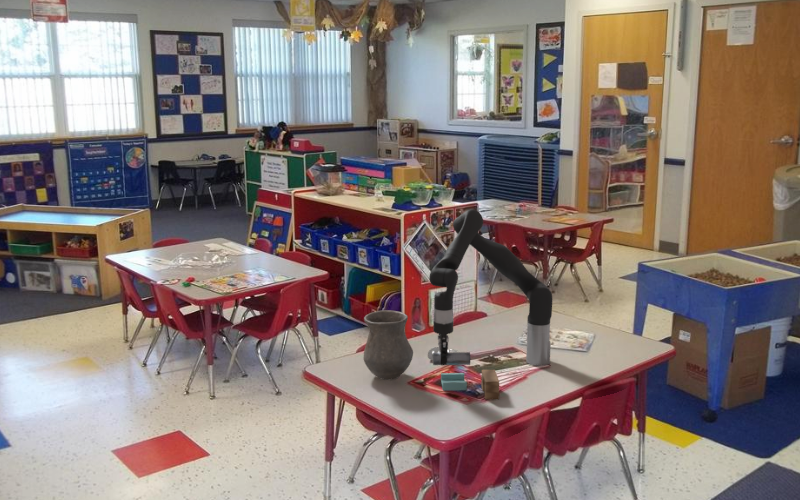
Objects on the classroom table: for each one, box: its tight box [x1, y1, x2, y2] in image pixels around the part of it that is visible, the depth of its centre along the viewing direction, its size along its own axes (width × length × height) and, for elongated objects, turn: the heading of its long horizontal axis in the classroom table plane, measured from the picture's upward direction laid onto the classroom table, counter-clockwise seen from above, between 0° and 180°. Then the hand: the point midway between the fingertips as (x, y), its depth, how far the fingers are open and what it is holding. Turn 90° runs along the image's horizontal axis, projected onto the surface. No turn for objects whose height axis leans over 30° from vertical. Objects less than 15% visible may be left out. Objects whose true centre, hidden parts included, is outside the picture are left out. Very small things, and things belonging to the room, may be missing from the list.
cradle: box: [440, 372, 468, 391], centre depth 298 cm, size 9×10×3 cm
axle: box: [432, 351, 471, 366], centre depth 296 cm, size 14×5×5 cm, turn 91°
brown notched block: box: [480, 369, 500, 401], centre depth 290 cm, size 5×12×7 cm, turn 1°
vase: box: [363, 309, 414, 381], centre depth 305 cm, size 20×19×25 cm
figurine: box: [427, 346, 459, 361], centre depth 324 cm, size 9×6×12 cm
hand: (443, 362), depth 296 cm, fingers closed on axle, 4 cm apart
